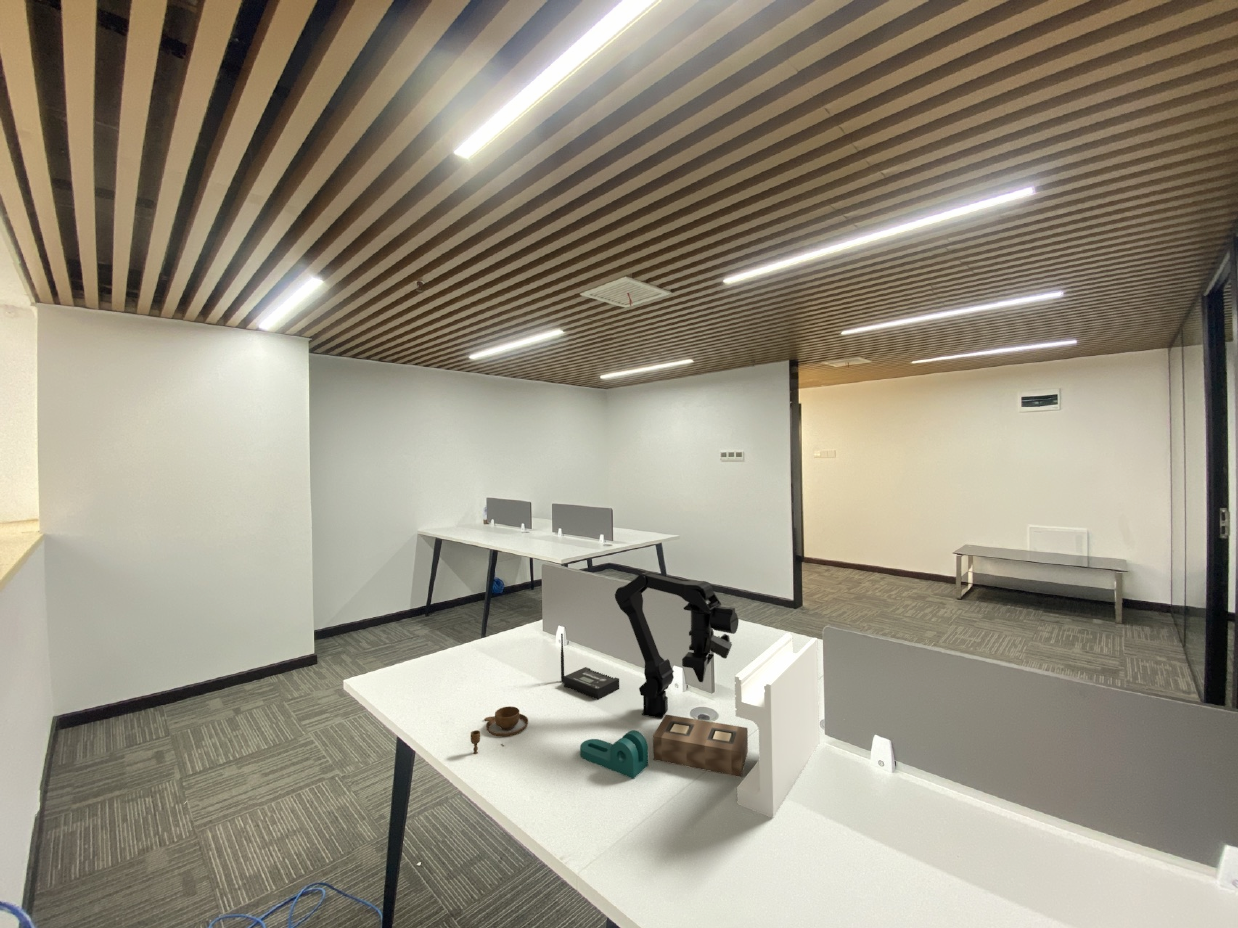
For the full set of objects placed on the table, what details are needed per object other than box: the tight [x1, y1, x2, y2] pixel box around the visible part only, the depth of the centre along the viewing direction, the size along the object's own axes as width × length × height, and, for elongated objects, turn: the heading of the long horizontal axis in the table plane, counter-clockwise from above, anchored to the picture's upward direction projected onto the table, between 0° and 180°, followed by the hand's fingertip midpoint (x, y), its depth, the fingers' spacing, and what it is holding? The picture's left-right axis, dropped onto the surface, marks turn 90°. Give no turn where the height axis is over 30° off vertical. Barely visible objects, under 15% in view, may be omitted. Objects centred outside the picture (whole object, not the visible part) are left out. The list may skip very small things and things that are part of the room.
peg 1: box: [670, 724, 689, 734], centre depth 133 cm, size 4×4×6 cm
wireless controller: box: [560, 633, 620, 701], centre depth 174 cm, size 20×14×17 cm
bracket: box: [579, 729, 649, 780], centre depth 130 cm, size 18×7×8 cm, turn 56°
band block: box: [652, 714, 749, 778], centre depth 131 cm, size 22×12×6 cm, turn 69°
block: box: [734, 632, 821, 819], centre depth 124 cm, size 35×8×28 cm, turn 144°
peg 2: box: [713, 731, 732, 742], centre depth 129 cm, size 4×4×6 cm
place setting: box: [470, 706, 529, 755], centre depth 145 cm, size 18×20×6 cm
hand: (701, 681), depth 146 cm, fingers closed
